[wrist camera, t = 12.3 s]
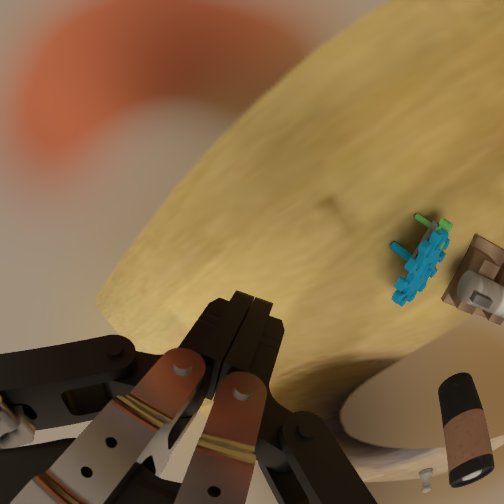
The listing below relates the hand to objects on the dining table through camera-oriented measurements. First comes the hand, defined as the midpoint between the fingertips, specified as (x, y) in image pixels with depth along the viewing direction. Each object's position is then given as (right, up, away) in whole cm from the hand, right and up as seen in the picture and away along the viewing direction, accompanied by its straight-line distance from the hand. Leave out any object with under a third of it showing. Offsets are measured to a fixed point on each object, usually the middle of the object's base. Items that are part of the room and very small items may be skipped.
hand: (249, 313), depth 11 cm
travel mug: (+37, -22, +25) cm, 50 cm away
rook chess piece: (+52, -63, +40) cm, 91 cm away
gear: (+20, +3, +19) cm, 28 cm away
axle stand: (+31, -1, +17) cm, 35 cm away
